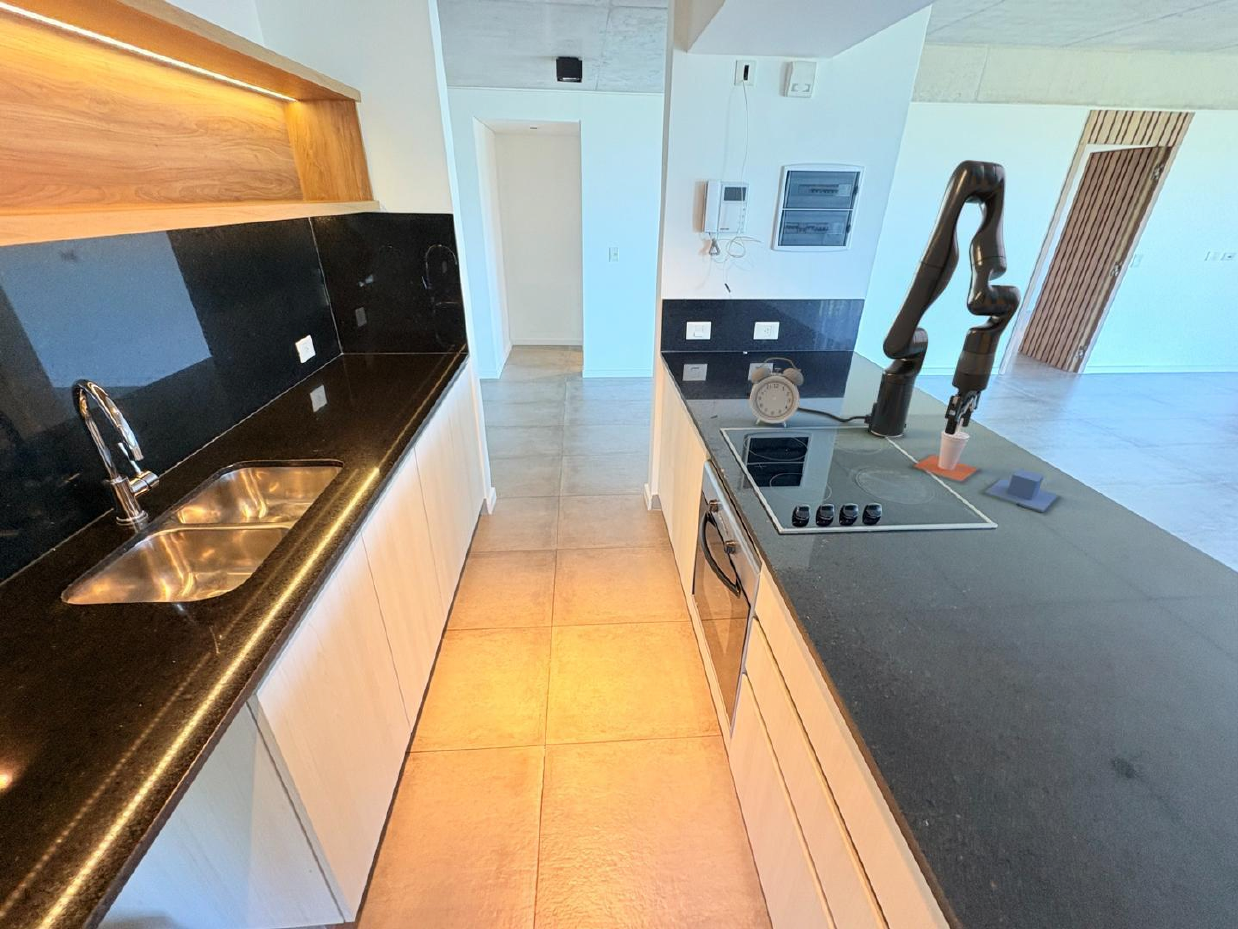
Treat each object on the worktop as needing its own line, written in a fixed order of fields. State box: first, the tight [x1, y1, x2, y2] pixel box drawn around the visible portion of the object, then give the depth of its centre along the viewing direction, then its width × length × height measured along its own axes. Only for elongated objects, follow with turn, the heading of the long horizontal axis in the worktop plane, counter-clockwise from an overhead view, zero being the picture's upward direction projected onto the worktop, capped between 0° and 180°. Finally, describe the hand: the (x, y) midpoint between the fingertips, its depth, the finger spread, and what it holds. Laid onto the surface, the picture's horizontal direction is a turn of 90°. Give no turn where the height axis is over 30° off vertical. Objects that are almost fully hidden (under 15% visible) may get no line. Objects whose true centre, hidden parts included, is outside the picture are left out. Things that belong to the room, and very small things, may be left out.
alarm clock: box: [749, 357, 804, 428], centre depth 171 cm, size 16×9×22 cm, turn 74°
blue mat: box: [984, 478, 1059, 514], centre depth 129 cm, size 12×12×1 cm
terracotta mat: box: [913, 454, 979, 482], centre depth 143 cm, size 12×12×1 cm
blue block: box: [1007, 468, 1045, 500], centre depth 128 cm, size 5×5×5 cm
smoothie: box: [938, 418, 970, 470], centre depth 140 cm, size 6×6×14 cm
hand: (956, 430), depth 138 cm, fingers open, 8 cm apart
